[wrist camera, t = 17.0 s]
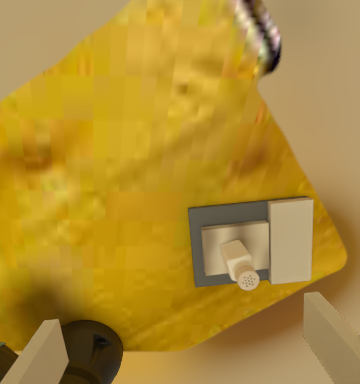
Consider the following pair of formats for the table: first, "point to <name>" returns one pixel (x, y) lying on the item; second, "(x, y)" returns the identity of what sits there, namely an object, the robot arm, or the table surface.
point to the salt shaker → (239, 264)
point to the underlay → (278, 237)
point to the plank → (245, 232)
